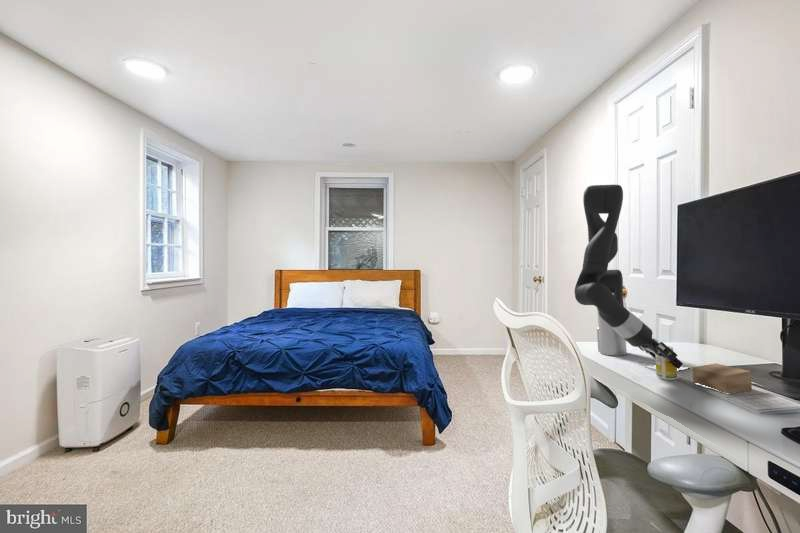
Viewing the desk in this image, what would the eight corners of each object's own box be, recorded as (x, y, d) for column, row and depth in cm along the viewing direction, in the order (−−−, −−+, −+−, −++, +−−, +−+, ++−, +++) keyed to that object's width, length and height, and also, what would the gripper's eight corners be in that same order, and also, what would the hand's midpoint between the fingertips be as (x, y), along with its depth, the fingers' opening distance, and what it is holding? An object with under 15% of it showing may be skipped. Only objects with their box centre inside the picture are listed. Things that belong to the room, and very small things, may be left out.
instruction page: (646, 367, 126) (646, 366, 126) (666, 362, 130) (666, 361, 130) (669, 373, 119) (669, 372, 119) (690, 368, 122) (690, 367, 122)
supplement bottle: (653, 378, 116) (651, 347, 116) (659, 374, 119) (657, 344, 119) (674, 381, 111) (672, 350, 111) (679, 377, 115) (677, 346, 115)
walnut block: (693, 384, 108) (692, 367, 108) (716, 379, 110) (715, 363, 110) (727, 394, 100) (726, 375, 99) (751, 389, 102) (750, 371, 102)
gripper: (654, 323, 108) (695, 359, 108) (625, 316, 122) (662, 348, 122) (637, 342, 108) (678, 378, 108) (610, 333, 122) (647, 365, 122)
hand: (669, 362), depth 115 cm, fingers open, 8 cm apart
